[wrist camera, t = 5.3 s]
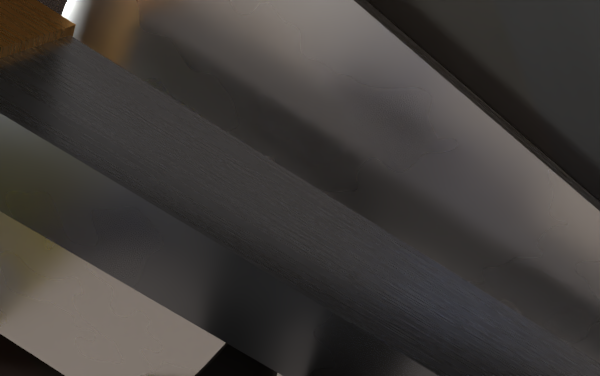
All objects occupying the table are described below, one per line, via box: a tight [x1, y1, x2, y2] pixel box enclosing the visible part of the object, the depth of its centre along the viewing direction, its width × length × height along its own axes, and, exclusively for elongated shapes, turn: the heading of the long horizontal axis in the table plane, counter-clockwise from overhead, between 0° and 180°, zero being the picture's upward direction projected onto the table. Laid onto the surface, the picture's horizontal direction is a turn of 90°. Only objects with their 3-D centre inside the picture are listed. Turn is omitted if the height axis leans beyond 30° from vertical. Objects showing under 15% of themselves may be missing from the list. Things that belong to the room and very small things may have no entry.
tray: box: [0, 0, 600, 376], centre depth 14 cm, size 20×16×1 cm
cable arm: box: [0, 0, 600, 376], centre depth 9 cm, size 19×2×5 cm, turn 61°
